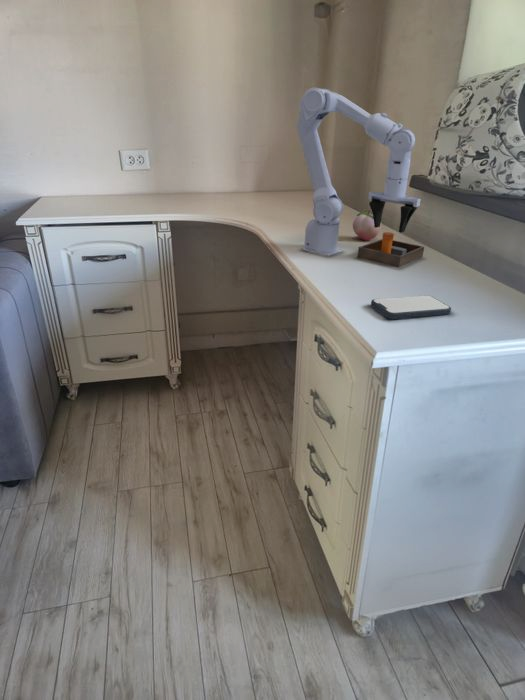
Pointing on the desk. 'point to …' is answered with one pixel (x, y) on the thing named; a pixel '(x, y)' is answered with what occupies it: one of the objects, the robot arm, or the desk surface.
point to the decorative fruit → (365, 226)
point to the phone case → (410, 307)
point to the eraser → (398, 251)
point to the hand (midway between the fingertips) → (389, 229)
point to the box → (375, 254)
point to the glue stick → (387, 242)
